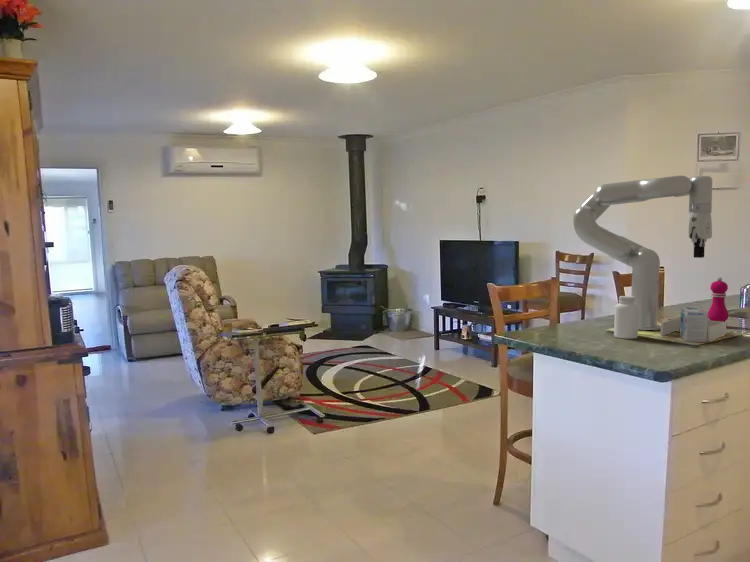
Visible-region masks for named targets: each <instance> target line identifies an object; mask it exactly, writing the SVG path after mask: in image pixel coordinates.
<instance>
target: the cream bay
mask: <svg viewBox="0 0 750 562" xmlns="http://www.w3.org/2000/svg"><path fill="white" fill-rule="evenodd" d="M726 323H727V322H726V321H725V322H720V321H710V319H709V320H707V333H708V334H707V342H709V343H710V342H712V341H713V342H714V341H715V339H716V340H718V339H720V338H719V337H720V336H722V335H724V334H726V335H727V327H726ZM660 326H661V329H660V336H661V337H664V336H667V335H670V334H672V333H671V332H674V331H677V330H680V326H681V317H675V318H672V319H668V320H664V321H660ZM677 332H678V331H677ZM669 333H670V334H669ZM674 333H675V332H674ZM666 334H667V335H666ZM717 338H718V339H717Z"/></svg>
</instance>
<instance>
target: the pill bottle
mask: <svg viewBox="0 0 750 562" xmlns="http://www.w3.org/2000/svg"><path fill="white" fill-rule="evenodd" d="M634 301H635V297H633V296H631V295H620V296H619V297H618V302H619V303H617V304H615V305H614V320H613V326H614V328H613V336H614V337H615V338H617V339H623V340H624V339H625V340H627V339H628V340H630V339H631V340H634V339H638V336H639V335H638V334H639V333H638V332H639V330H638V306H637V305H636V304H634Z"/></svg>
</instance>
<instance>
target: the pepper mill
mask: <svg viewBox="0 0 750 562" xmlns="http://www.w3.org/2000/svg"><path fill="white" fill-rule="evenodd" d="M722 280H723V278H722V277H720V276H718V277H717V278H716V280H715V281H713V282H712V283H711V284H710V288H709V289H710V290H711V292H712V293H711V297H712V303H711V304H710V305H711V306H710V307H709V310H708V311H707V312H708V319H709V320H710V321H720V322H726V321H728V319H729V312H728V309H727V308H726V307H727V306H726V303H725V301H726V300H725V298H726V297H727V293H726V292H728V289H729V286H728V284H727V283H726V282H725V281H722ZM727 326H728V323H727V322H726V328H727Z"/></svg>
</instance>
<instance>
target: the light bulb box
mask: <svg viewBox="0 0 750 562" xmlns="http://www.w3.org/2000/svg"><path fill="white" fill-rule="evenodd" d="M680 318H681V326H680V331H679V336H680V337H681V338H682V339H683V340H684V341H685V342H696V343H699V342H700V343H701V342H702V343H708V341H707V340H708V334H707V320H708V319H709V318H708V311H707V310H705V309H704V308H701V307H680Z"/></svg>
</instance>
